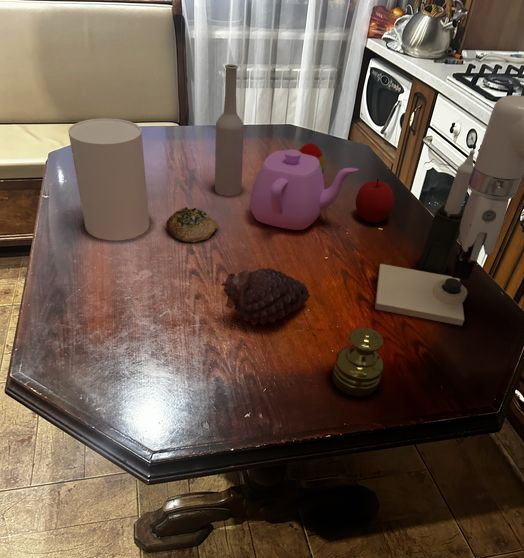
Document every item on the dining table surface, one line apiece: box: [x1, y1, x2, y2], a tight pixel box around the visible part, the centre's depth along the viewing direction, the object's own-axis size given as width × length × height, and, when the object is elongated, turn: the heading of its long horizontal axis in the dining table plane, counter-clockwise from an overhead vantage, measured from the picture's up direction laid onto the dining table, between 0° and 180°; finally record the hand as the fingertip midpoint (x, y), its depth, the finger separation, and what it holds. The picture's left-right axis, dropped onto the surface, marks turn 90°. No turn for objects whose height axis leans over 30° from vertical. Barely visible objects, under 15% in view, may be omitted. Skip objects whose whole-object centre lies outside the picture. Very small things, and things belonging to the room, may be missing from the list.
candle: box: [416, 149, 476, 275], centre depth 99 cm, size 5×5×25 cm
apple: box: [355, 178, 395, 224], centre depth 119 cm, size 9×9×10 cm
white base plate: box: [374, 263, 468, 326], centre depth 99 cm, size 16×14×3 cm
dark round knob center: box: [443, 278, 463, 294], centre depth 97 cm, size 3×3×2 cm
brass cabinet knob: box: [331, 327, 385, 397], centre depth 78 cm, size 7×7×10 cm
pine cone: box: [220, 267, 311, 326], centre depth 89 cm, size 18×10×10 cm
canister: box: [67, 117, 150, 241], centre depth 105 cm, size 14×14×20 cm
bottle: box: [214, 63, 245, 197], centre depth 119 cm, size 7×7×28 cm
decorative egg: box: [298, 142, 325, 175], centre depth 131 cm, size 8×8×10 cm
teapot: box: [249, 148, 359, 231], centre depth 113 cm, size 23×21×15 cm
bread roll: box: [165, 206, 219, 243], centre depth 111 cm, size 11×11×5 cm
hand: (459, 276), depth 95 cm, fingers closed
